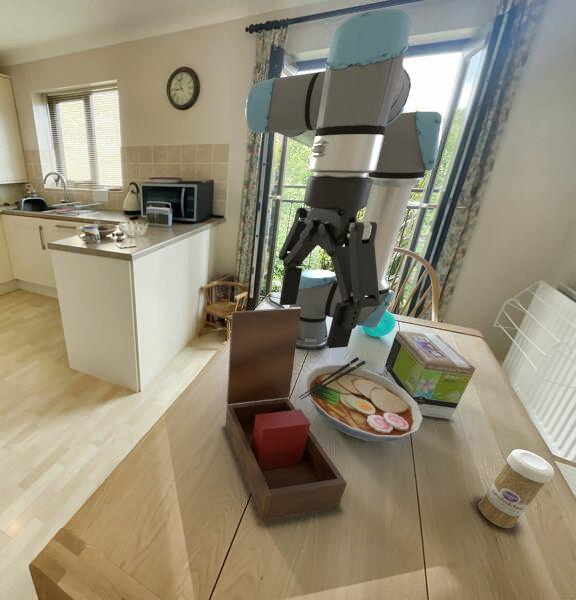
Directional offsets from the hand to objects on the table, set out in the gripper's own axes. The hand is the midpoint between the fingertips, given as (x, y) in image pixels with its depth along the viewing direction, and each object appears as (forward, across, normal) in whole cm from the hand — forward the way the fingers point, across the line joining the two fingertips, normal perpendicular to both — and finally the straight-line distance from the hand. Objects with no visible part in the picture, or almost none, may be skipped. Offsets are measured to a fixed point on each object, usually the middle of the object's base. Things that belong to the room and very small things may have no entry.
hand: (308, 322), depth 48 cm
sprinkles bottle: (+32, +15, +32) cm, 48 cm away
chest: (+32, 0, -1) cm, 32 cm away
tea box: (+32, -13, +43) cm, 55 cm away
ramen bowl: (+32, -8, +22) cm, 40 cm away
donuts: (+32, -44, +56) cm, 78 cm away
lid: (+14, -11, -1) cm, 18 cm away
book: (+31, 0, -1) cm, 31 cm away
